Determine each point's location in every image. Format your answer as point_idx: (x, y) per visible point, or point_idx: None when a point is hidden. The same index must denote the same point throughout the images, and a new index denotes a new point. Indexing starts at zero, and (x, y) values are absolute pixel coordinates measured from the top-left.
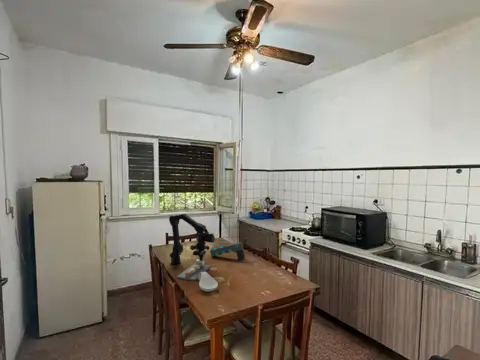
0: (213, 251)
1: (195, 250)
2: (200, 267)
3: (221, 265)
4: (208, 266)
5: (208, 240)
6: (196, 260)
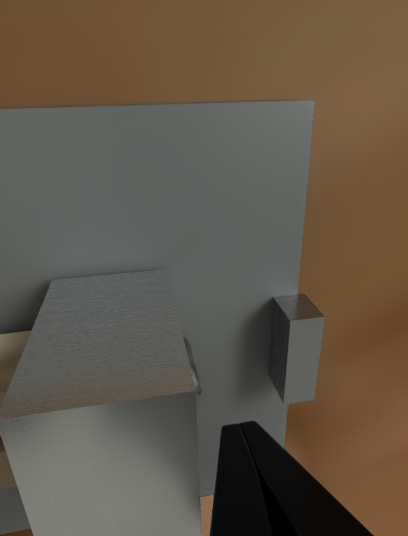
0: None
1: None
2: None
3: None
4: (210, 481)
5: None
6: (18, 455)
